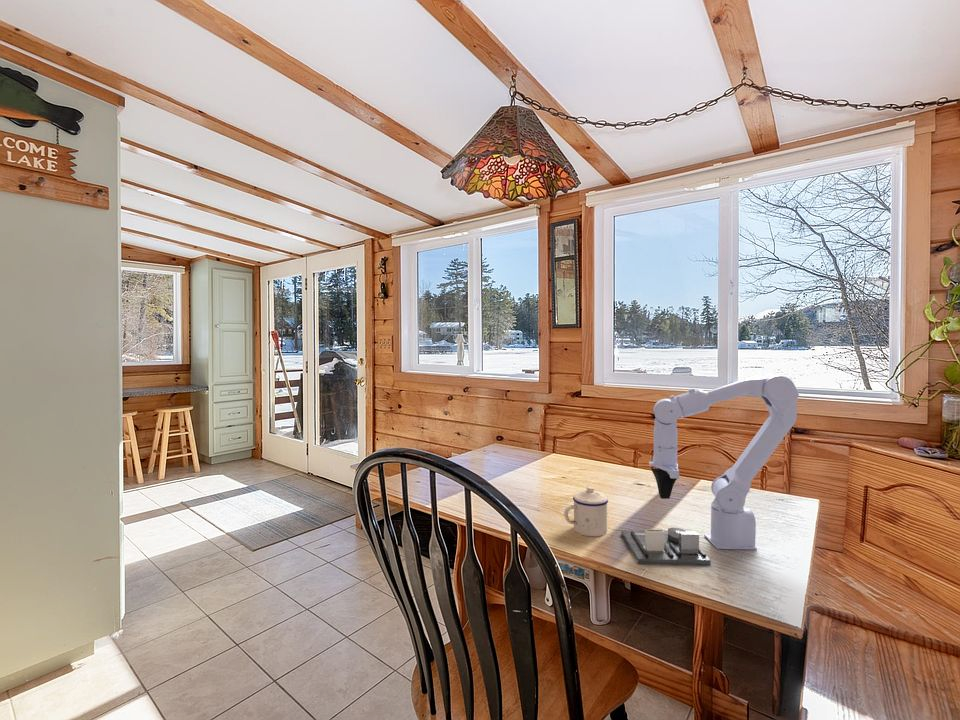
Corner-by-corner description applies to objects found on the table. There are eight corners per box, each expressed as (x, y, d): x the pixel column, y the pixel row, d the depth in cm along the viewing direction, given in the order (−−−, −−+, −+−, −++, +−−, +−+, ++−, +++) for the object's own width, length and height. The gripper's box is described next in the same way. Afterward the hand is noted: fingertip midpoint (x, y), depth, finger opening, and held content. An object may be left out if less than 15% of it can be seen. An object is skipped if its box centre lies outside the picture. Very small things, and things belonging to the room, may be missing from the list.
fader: (662, 548, 113) (662, 529, 112) (664, 550, 111) (664, 531, 111) (645, 547, 113) (645, 528, 113) (647, 550, 111) (647, 531, 111)
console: (683, 535, 123) (684, 513, 123) (710, 565, 107) (710, 539, 107) (621, 534, 124) (621, 512, 123) (638, 564, 108) (638, 538, 108)
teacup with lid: (596, 522, 132) (597, 481, 132) (614, 535, 123) (614, 491, 123) (557, 526, 129) (557, 484, 128) (572, 540, 120) (572, 495, 120)
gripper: (641, 439, 129) (641, 488, 130) (658, 452, 115) (658, 507, 116) (667, 439, 129) (667, 488, 130) (688, 452, 115) (687, 508, 115)
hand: (664, 497), depth 123 cm, fingers closed
